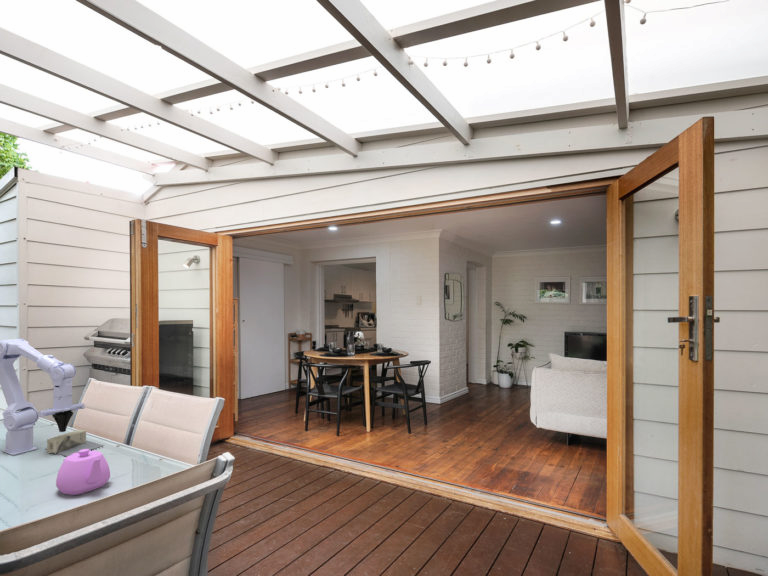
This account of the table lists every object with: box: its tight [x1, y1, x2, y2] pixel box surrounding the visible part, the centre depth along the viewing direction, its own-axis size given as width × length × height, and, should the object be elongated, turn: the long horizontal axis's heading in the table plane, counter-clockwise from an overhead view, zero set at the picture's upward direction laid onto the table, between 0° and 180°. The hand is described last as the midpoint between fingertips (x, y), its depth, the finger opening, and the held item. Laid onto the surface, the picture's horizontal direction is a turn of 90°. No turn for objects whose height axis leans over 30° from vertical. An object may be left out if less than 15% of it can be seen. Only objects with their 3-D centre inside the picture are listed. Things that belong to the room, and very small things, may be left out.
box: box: [46, 429, 87, 454], centre depth 168 cm, size 5×4×13 cm
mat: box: [44, 439, 105, 458], centre depth 168 cm, size 17×13×1 cm
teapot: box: [55, 449, 111, 496], centre depth 131 cm, size 20×13×12 cm, turn 56°
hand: (62, 431), depth 164 cm, fingers closed
